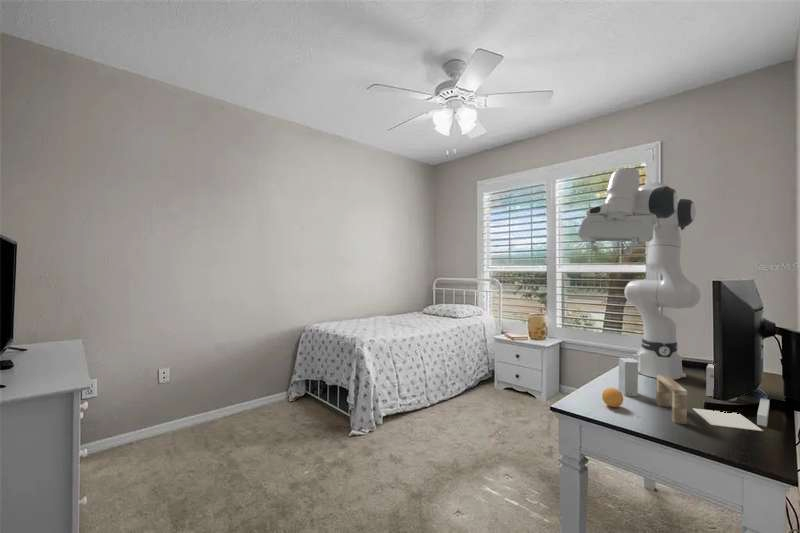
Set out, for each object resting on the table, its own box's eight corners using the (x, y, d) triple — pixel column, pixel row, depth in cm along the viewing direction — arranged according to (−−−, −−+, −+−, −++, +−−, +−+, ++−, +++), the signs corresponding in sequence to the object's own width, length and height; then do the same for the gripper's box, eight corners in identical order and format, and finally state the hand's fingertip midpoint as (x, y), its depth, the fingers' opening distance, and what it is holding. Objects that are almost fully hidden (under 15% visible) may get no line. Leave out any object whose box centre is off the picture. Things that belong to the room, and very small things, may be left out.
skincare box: (638, 396, 128) (638, 362, 127) (624, 395, 128) (625, 362, 128) (630, 390, 134) (631, 358, 133) (617, 389, 134) (618, 357, 134)
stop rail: (760, 407, 119) (760, 398, 119) (769, 409, 117) (769, 399, 117) (756, 424, 106) (757, 414, 106) (766, 426, 105) (766, 416, 105)
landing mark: (692, 408, 117) (692, 408, 117) (739, 413, 114) (739, 413, 114) (711, 425, 106) (711, 424, 106) (763, 431, 102) (763, 430, 102)
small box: (738, 398, 126) (738, 368, 126) (736, 402, 122) (737, 371, 122) (707, 392, 132) (708, 363, 132) (705, 396, 128) (706, 366, 128)
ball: (600, 401, 123) (600, 384, 123) (620, 404, 121) (620, 386, 121) (604, 408, 117) (604, 390, 117) (625, 411, 116) (625, 392, 115)
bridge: (674, 422, 108) (674, 389, 107) (656, 403, 122) (656, 374, 122) (686, 424, 107) (687, 391, 106) (667, 404, 121) (667, 375, 121)
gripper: (659, 217, 111) (652, 258, 108) (586, 219, 125) (578, 255, 122) (656, 206, 107) (649, 249, 103) (581, 209, 121) (573, 247, 117)
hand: (610, 252), depth 113 cm, fingers open, 8 cm apart
